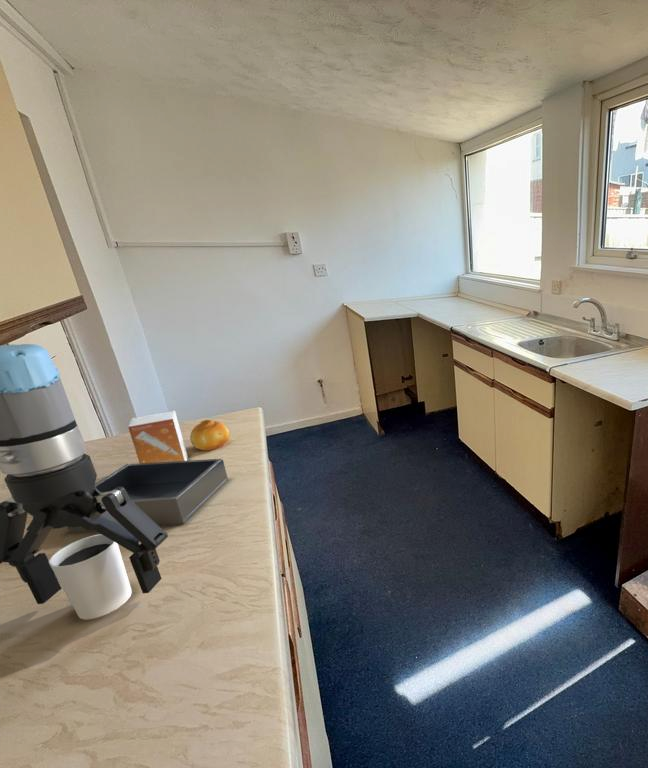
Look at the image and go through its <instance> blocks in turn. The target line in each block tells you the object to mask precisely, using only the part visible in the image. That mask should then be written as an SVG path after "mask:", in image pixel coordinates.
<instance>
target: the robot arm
mask: <svg viewBox="0 0 648 768" xmlns="http://www.w3.org/2000/svg"><path fill="white" fill-rule="evenodd" d="M60 373H61V372H60V370H59V369H58V368H57V367H56V366H55V364H54V361H53V360H52V358H51V356H50V352H49V351H48V350H47V348H44V347H43V346H41V345H38V344H33V343H22V344H3V345H2V344H1V345H0V473H2V474H5V477H4V478H3V479H4V483H5V484H6V487H7V489H8V491H9V493H10V495H11V497H9V498H7V499H5V500H3V501H1V502H0V565H1V564H2V563H7V564H8V565H9V566H11V567H15V568H16V571H17V572H18V574H19V576H20V579H21V581H23V582H24V583H26V584H27V585H28V588H29V590H30V592H31V594H32V596H33V598H34V600H35V602H36V604H37V605H43V604H45V603H46V602H48V601H49V600H50V599H51V598H52V597H54V596H55V595H56V594H58V592H59V591H61V590H62V589H63V588H62V586H61V584H60V582H59V580H58V579H57V577H56V575H55V573H54V571H53V570H52V568H51V566H50V564H49V560H50V559H49V558H48V556H47V554H46V552H40V551H42V548H41V546H42V545H43V543H44V542H45V540H46V538H48V535H49V534H50V532H51V531H52V530H53V529H54V530H57V529H61V528H65V527H67V528H68V527H79V526H81V527H83V528H84V529H86V530H95V531H94V532H97V533H98V534H99V535H100V534H102V535H104V536H105V537H107V538H109V539H111V540H112V541H114V542H116V543H117V544H118V546H120V547H123V548H124V549H126V550H128V551H129V552H131V553H132V554H131V555H130V556H129V558H128V559H129V561H130V565H131V566H132V569H133V572H134V574H135V577H136V579H137V582H138V584H139V587H140V590H141V592H142V594H149V593H150V592H151V591H152V590H153V589H154V588H155V587H156V586H157V585H158V584H159V582H160V581H162V580H163V579H162V575H161V573H160V570H159V568H158V566H159V564H160V561H161V560H160V558H159V555H158V552H157V548H158V547H159V546H160V545H161V544H162V543H163V542H164V541H165V540H166V539H167V538H168V533H167V532H166V531H164V530H163V529H162V528H161V526H158V525H157V524H156V523H155V522H154V521H153V520H152V519H151V518H150V517H149V516H148V515H147V514H146V513H144V512H143V511H142V510H141V509H140V508H139V507H138V506H137V505H136V504H135V503H134V502H133V501H132V500H131V499H130V497H129V495H128V493H127V491H126V489H125V488H123V487H117V488H116V489H114V490H113V491H109V492H103V493H101V492H100V491H99V490H98V489H97V488H96V487H95V484H96V480H97V478H98V477H97V476H98V474H97V471H96V468H95V466H94V464H93V461H92V459H91V458H92V457H91V456H90V455H89V454H86V453H87V451H88V448H87V447H88V446H87V445H86V443H85V441H84V438H83V436H82V433H81V431H80V428H79V426H78V424H77V421H76V418H75V414H74V412H73V410H72V407H71V404H70V402H69V398H68V396H67V394H66V393H67V392H66V390H65V388H64V385H63V382H62V379H61V375H60ZM96 512H98V513H100V514H101V515H99V516H98V517H97V518H95V519H91V518H93V517H94V516H95V514H96ZM28 514H29V515H30V516H32V519H31V521H30V523H29V524H28V526H27V528H26V524H27V519H28ZM25 530H26V531H27V532H26V533H25ZM24 534H25V535H24ZM38 552H40V553H38ZM37 553H38V554H37Z"/></svg>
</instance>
